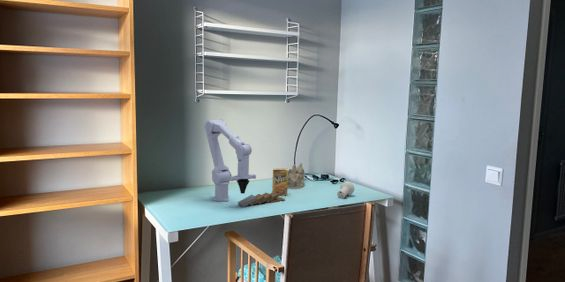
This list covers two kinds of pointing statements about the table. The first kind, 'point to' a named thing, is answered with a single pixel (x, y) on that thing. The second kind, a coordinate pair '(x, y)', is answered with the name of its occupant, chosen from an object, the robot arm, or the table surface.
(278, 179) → the candy box
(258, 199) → the domino
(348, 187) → the pale grey rounded lump
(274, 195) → the domino
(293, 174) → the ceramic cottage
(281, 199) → the domino
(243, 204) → the domino
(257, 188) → the table surface
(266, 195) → the domino
